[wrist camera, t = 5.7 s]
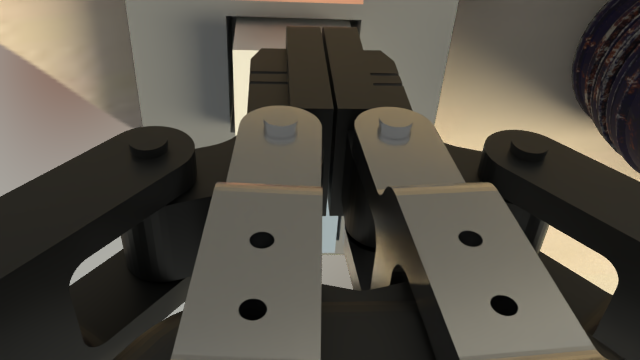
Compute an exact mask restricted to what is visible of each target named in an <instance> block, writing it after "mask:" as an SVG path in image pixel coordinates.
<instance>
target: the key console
mask: <svg viewBox="0 0 640 360" xmlns="http://www.w3.org/2000/svg"><path fill="white" fill-rule="evenodd" d="M458 3H459V0H364V1H363V4H339V3H308V2H278V1H247V0H125V5H126V12H127V19H128V26H129V33H130V40H131V47H132V54H133V61H134V68H135V76H136V83H137V90H138V97H139V104H140V111H141V118H142V125H143V127H146V126H165V127H171V128H175V129H178V130H181V131H183V132H185V133H186V134H188V135H189V136H190V137H191V138H192V140H193V141H194V144H195V149H196V148H201V147H207V146H212V145H216V144H219V143H222V142H225V141H227V140H230V139H232V138H233V137H235V111H234V81H233V42H234V34H235V26H236V19H237V16H238V17H271V18H304V19H337V20H349V21H350V25H351V27H356V28H357V30H358V33H359V36H360V40H361V43H362V47H363V50H381V51H382V52H383V53H384V54H386V55H387V56H388V57H389V58H391V59H392V60H393V61H394V62H395V65H396V67H397V70H398V73H399V76H400V78H401V81H402V83H403V84H402V86H404V89H405V91H406V94H407V97H408V99H409V102H410V105H411V107H412V110H413V111H414V112H417V113H419V114H421V115H423V116H424V117H426V118H427V119H429V120H430V121H431V122H432V124H433V125H434V124H435V119H436V113H437V108H438V103H439V98H440V93H441V88H442V83H443V78H444V73H445V68H446V63H447V58H448V53H449V48H450V43H451V38H452V33H453V28H454V23H455V18H456V13H457V8H458ZM344 226H345V221H344V216H338V224H337V235H336V245H335V253H322V255H345V254H344V250H343V236H344Z"/></svg>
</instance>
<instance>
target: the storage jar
mask: <svg viewBox="0 0 640 360" xmlns="http://www.w3.org/2000/svg"><path fill="white" fill-rule="evenodd" d="M572 84H573V90H574V93H575V96H576V99H577V101H578V102H579V104H580V106H581V107H582V109H583V110H584V111H585V112H586V113H587V114H588V116H589V117H590V118H591V119H592V120H593V122H594V123H595V125H596V127H597V129H598V130H599V132H600V134H601V135H602V136H603V137H604V139H605V140H606V141H607V142H608V143H609V145H610V146H611V147H612V148H613V149H614V150H615V151H616V152H617V153H619V154H620V155H622V157H623V158H624V159H625V160H626V161H627V163H628V164H629V165H630V166H631V167H632V168H633V169H634V170H636V171H637V172H639V173H640V0H609V1H608V3H607V4H606V5H605V6H604V7H603V8H602V9H601V10H600V11H599V12H598V13H597V15H596V16H595V17H594V19H593V20H592V21H591V23H590V24H589V25H588V27H587V29H586V31H585V32H584V34H583V36H582V38H581V40H580V42H579V45H578V47H577V50H576V53H575V57H574V61H573V66H572Z"/></svg>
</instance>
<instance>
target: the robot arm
mask: <svg viewBox="0 0 640 360" xmlns="http://www.w3.org/2000/svg"><path fill="white" fill-rule="evenodd" d="M402 84H403V83H402V81H401V78H400V76H399V73H398V70H397V67H396V65H395V62H394V61H393V60H392V59H391V58H389V57H388V56H387V55H386V54H384V53H383V52H382V51H381V50H363V47H362V43H361V40H360V36H359V33H358V30H357V28H356V27H322V33H321V28H320V27H312V26H286V49H276V48H261V49H260V50H259V51H258V52H257V53H256V54H255V55H254V56H253V57H252V58H251V61H250V76H249V91H248V106H247V114H246V115H245V116H244V117H243V118H242V120H241V121H240V124H239V128H238V132H237V135H236V136H235V137H233V138H232V139H230V140H227V141H225V142H222V143H219V144H216V145H212V146H207V147H201V148H196V149H195V144H194V141H193V140H192V138H191V137H190V136H189V135H188V134H186V133H185V132H183V131H181V130H178V129H175V128H171V127H165V126H146V127H139V128H135V129H131V130H128V131H126V132H123V133H121V134H119V135H117V136H115V137H113V138H111V139H109V140H107V141H106V142H104V143H102V144H100V145H98V146H96V147H94V148H92V149H90V150H88V151H87V152H85V153H83V154H81V155H79V156H77V157H75V158H73V159H71V160H69V161H67V162H65V163H64V164H62V165H60V166H58V167H56V168H54V169H52V170H50V171H48V172H47V173H45V174H43V175H41V176H39V177H37V178H35V179H33V180H31V181H29V182H27V183H26V184H24V185H22V186H20V187H18V188H16V189H14V190H12V191H10V192H9V193H6V194H5V195H3V196H1V197H0V360H640V182H639V181H637V180H635V179H633V178H631V177H629V176H627V175H624V174H622V173H620V172H618V171H616V170H614V169H612V168H610V167H608V166H606V165H604V164H602V163H600V162H598V161H596V160H593V159H591V158H589V157H587V156H585V155H583V154H581V153H579V152H577V151H575V150H573V149H571V148H569V147H567V146H565V145H562V144H560V143H558V142H556V141H554V140H552V139H550V138H548V137H545V136H543V135H540V134H537V133H533V132H529V131H523V130H505V131H500V132H496V133H494V134H492V135H490V136H489V137H488V138H487V139H486V141H485V144H484V148H483V152H481V151H476V150H471V149H466V148H461V147H456V146H452V145H449V144H446V143H443V141H442V139H441V137H440V136H439V134H438V132H437V130H436V128H435V127H434V125H433V124H432V122H431V121H430V120H429V119H427V118H426V117H424V116H423V115H421V114H419V113H417V112H414V111H413V110H412V107H411V105H410V102H409V99H408V97H407V94H406V91H405V89H404V86H402ZM327 199H328V207H329V216H344V221H345V226H344V236H343V250H344V254H345V258H346V262H347V266H348V270H349V274H350V278H351V282H352V286H353V290H351V289H346V288H340V287H335V286H329V285H324V284H321V283H322V216H326V210H327ZM549 225H551V226H553V227H554V228H556V229H558V230H559V231H561V232H563V233H565V234H566V235H568V236H570V237H572V238H573V239H575V240H577V241H578V242H580V243H582V244H584V245H585V246H587V247H589V248H591V249H592V250H594V251H596V252H597V253H599V254H601V255H602V256H604V257H605V258H607V259H608V260H609V261H610V262H611V263H612V264H613V266H614V267H615V269H616V271H617V274H618V279H619V282H618V286H617V288H616V290H615V292H614V295H611V294H609V293H607V292H605V291H604V290H602V289H601V288H599V287H597V286H596V285H594V284H592V283H591V282H589V281H588V280H586V279H584V278H583V277H581V276H579V275H578V274H576V273H575V272H573V271H571V270H570V269H568V268H566V267H565V266H563V265H562V264H560V263H558V262H557V261H555V260H553V259H552V258H550V257H548V256H547V255H545V254H544V253H542V252H540V249H541V246H542V243H543V240H544V238H545V235H546V232H547V230H548V227H549ZM119 236H121V239H122V244H123V248H124V249H122V250H121V251H119V252H118V253H117V254H115V255H114V256H112V257H111V258H109V259H108V260H107V261H105V262H104V263H102V264H101V265H99V266H98V267H96V268H95V269H93V270H92V271H91V272H89V273H88V274H86V275H85V276H83V277H82V278H80V279H79V280H78V281H76V282H75V283H73V284H72V285H70V286H69V284H70V280H71V277H72V275H73V273H74V271H75V270H76V268H77V267H78V266H79V265H80V264H81V263H82V262H83V261H84V260H85V259H87V258H88V257H90V256H91V255H92V254H94V253H96V252H97V251H99V250H100V249H102V248H103V247H105V246H106V245H107V244H109V243H110V242H112V241H113V240H115V239H116V238H118V237H119ZM184 302H185V305H184V309H183V311H181V312H179V313H176V314H174V315H172V316H170V317H168V318H166V317H167V316H168V315H169V314H171V313H172V312H173V311H174V310H175V309H176V308H178V307H179V306H180V305H181V304H182V303H184ZM165 318H166V319H165ZM164 319H165V320H164ZM162 320H163V321H162Z"/></svg>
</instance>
